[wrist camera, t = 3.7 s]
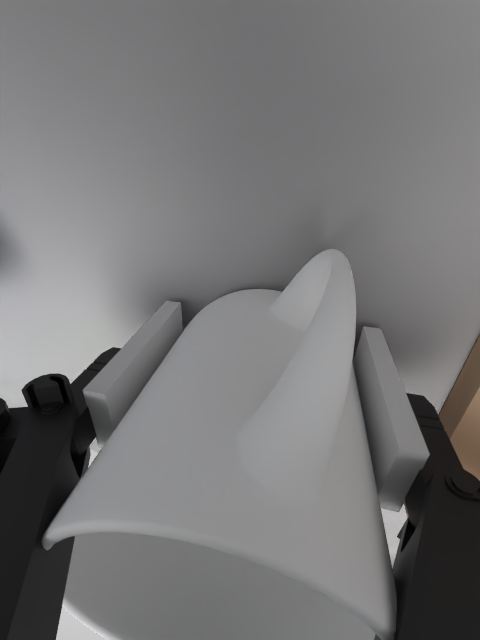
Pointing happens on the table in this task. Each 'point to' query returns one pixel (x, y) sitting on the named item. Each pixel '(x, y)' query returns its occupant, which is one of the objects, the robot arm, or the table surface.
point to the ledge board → (465, 414)
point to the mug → (239, 483)
